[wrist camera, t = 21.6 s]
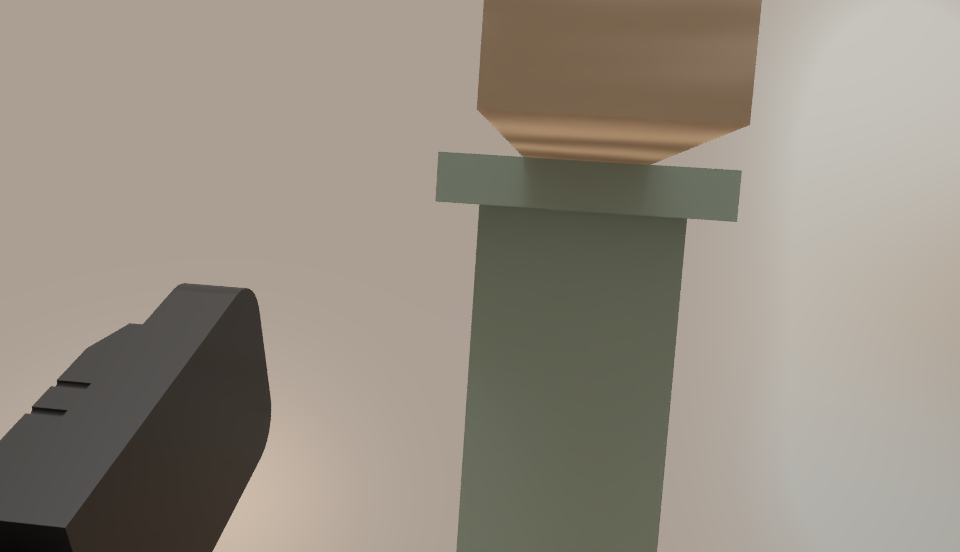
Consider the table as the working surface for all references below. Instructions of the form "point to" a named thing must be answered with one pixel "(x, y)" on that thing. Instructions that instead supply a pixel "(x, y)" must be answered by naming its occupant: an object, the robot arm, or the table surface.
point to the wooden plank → (616, 75)
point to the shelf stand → (572, 345)
